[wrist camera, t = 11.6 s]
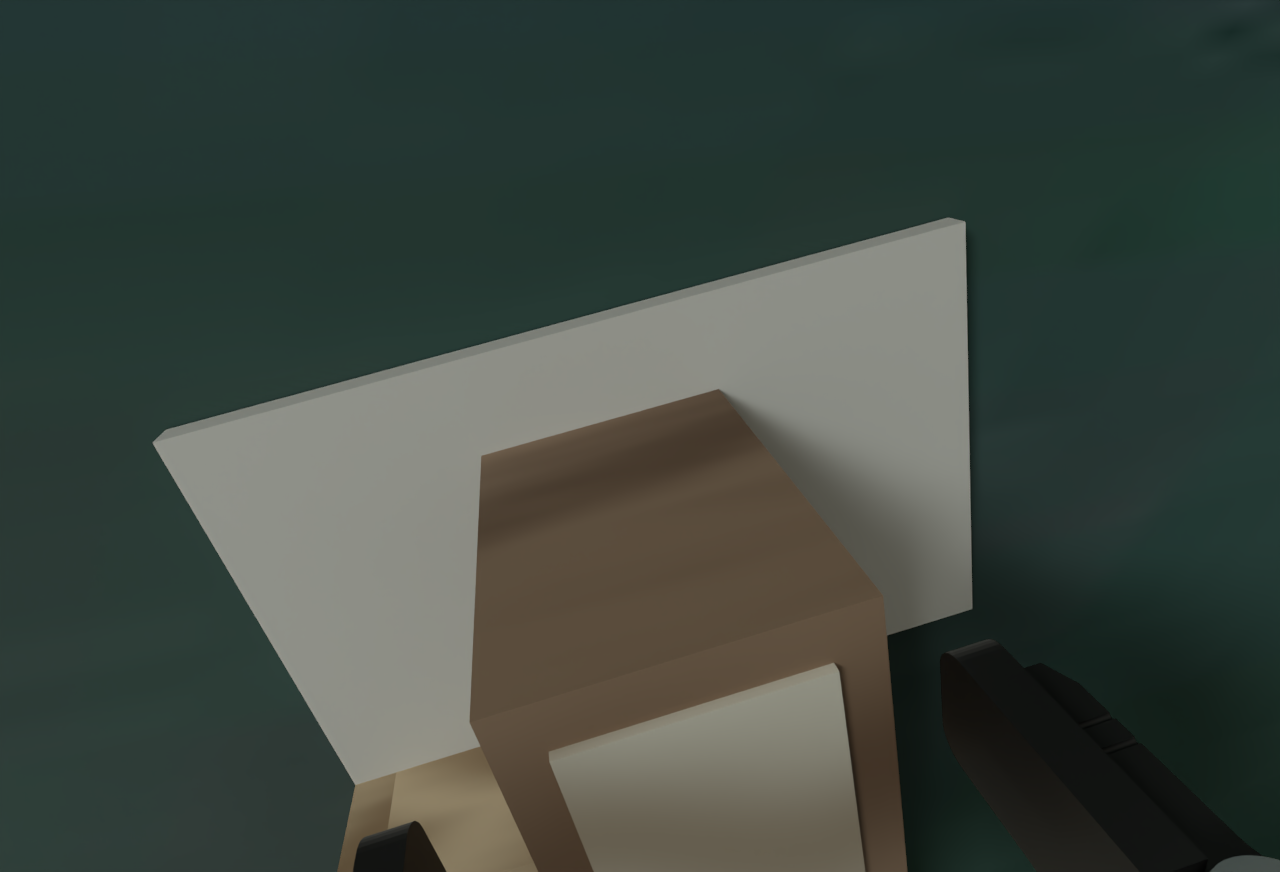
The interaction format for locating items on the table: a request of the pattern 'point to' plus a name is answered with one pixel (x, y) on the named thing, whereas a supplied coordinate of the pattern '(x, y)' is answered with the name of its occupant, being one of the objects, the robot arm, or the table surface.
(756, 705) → the walnut block
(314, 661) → the pad
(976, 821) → the table surface
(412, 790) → the bin
